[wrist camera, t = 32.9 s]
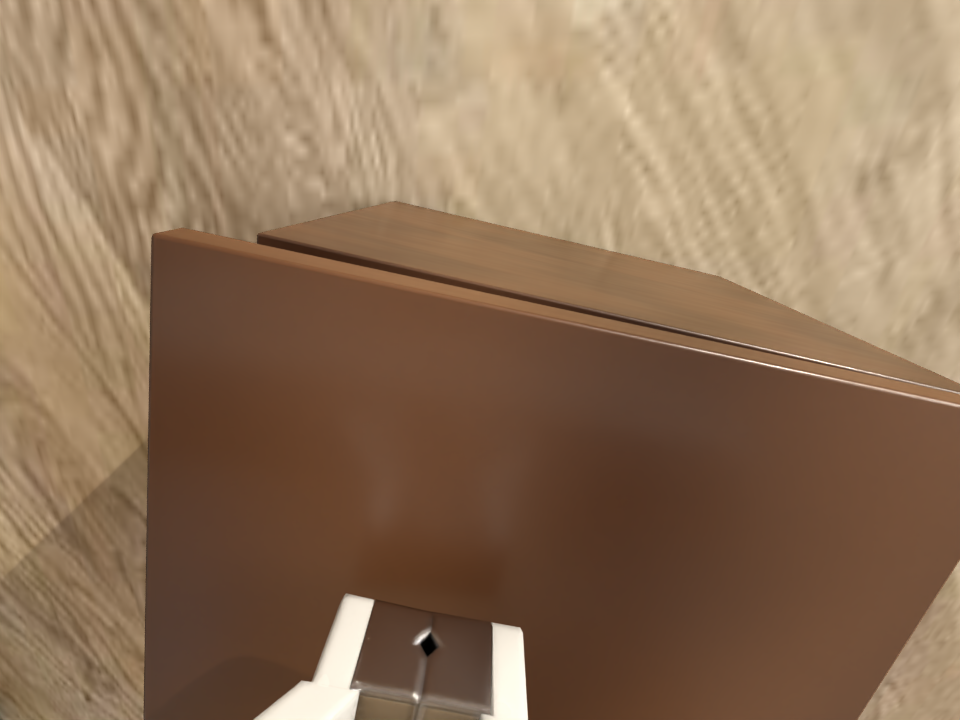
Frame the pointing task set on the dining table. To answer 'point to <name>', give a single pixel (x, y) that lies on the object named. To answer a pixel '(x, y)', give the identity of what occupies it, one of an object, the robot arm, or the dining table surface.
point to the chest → (585, 283)
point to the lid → (523, 494)
